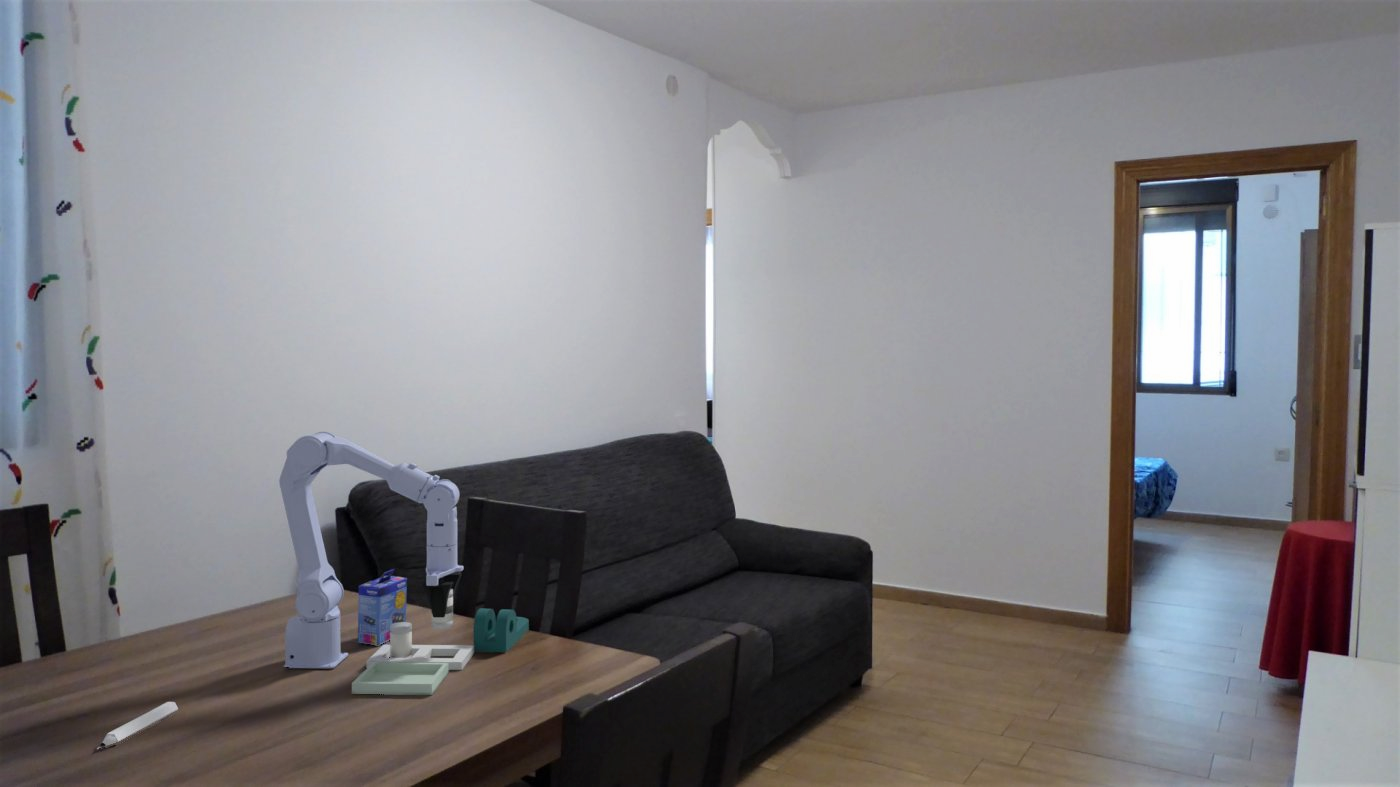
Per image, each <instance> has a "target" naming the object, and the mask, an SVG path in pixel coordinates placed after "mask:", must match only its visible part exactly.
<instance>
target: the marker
mask: <svg viewBox="0 0 1400 787" xmlns="http://www.w3.org/2000/svg"><path fill="white" fill-rule="evenodd" d="M178 710H179V708H178V706H177V704H176V701H175V702H174V701H166V702H164V703H163V704H160V705H159V706H157V707H155V708H153V709H151V710H149V711H148V712H146V713H144V714H142V715H140V716H138V717H136V718H135V719H132V720H131V721H128V722H127V723H125V724H122V725H121V726H119V727H117V728H115V729H113V730H111V731H110V732H108V733H107V734H106V735H105V737H104V739H103V741H102V742H101V743H100V744H99V745H98V747H97V748H96V750H99V748H101V747H104V746H107V745H110V744H113V743H116V742H119V741H121V740H123V739H125V738H126V737H128V736H130V735H132V734H134V733H136V732H137V731H139V730H141V729H143V728H145V727H147V726H149V725H151V724H152V723H155V722H156V721H158V720H160V719H162V718H164V717H166V716H167V715H169V714H171V713H173V712H175V711H178ZM101 749H102V748H101Z"/></svg>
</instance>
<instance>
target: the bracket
mask: <svg viewBox="0 0 1400 787" xmlns="http://www.w3.org/2000/svg"><path fill="white" fill-rule="evenodd" d="M529 621H530V620H529V618H526V617H523V616H517V612H516V610H514V609H506V608H505V609H503V608H502V609H500V610H499V611H498V613H497V616H496V614H495V610H494V608H483V607H482V608H479V609H478V610H477V611H476V614H475V616H474V621H473V629H472V630H473V645H474V652H475V651H484V652H483V653H494V652H507V651H508V650H509V649H510V648H511V647H512V646H513V645H514V644H515V643H516V642H517V641H518V640H519V639H520V638H521V637H522V636H523V635H524V633H525V632H526V631H528V632H529V630H530V628H529V627H530V624H529V623H530V622H529ZM524 636H525V635H524ZM524 636H523V637H524ZM523 637H522V638H523ZM522 638H521V639H522ZM521 639H520V640H521ZM520 640H519V641H520ZM519 641H518V642H519ZM518 642H517V643H518ZM517 643H516V644H517ZM516 644H515V645H516ZM515 645H514V646H515ZM514 646H513V647H514ZM513 647H512V648H513ZM512 648H511V649H512ZM511 649H510V650H511ZM510 650H509V651H510ZM485 651H486V652H485ZM509 651H508V652H509ZM508 652H507V653H508Z"/></svg>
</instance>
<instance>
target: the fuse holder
mask: <svg viewBox="0 0 1400 787" xmlns="http://www.w3.org/2000/svg"><path fill="white" fill-rule="evenodd" d="M474 653H475V651H474V645H472V644H471V645H469V644H468V645H467V644H466V645H465V644H464V645H463V644H462V645H461V644H452V645H451V644H443V645H442V644H412V657H411V658H389V657H390V644H382V645H381V646H380V648H378V649H377V650H376V651H375V652H374V653H373V654H372V655H371V656H370V657H369V658H368V659H367V660H366V661H365V663H366V664H365V665H366V666H365V667H366V668H368V667H369V666H370V665H371V664H372V663H373V662H397V663H448V671H463V669H464V668H465V666H466V665H467V664H468V662H469V661H470V660H471V658H472V656H473V655H474ZM366 668H365V669H366Z"/></svg>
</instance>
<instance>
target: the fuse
mask: <svg viewBox="0 0 1400 787" xmlns="http://www.w3.org/2000/svg"><path fill="white" fill-rule="evenodd" d="M412 626H413V624H412V623H411V622H407V621H406V622H398V623H394V624H391V625H390V641H389V642H390V643H389V645H390V658H411V657H412V645H413V638H412V637H413V634H412V633H413V632H412V631H413V627H412Z"/></svg>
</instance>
